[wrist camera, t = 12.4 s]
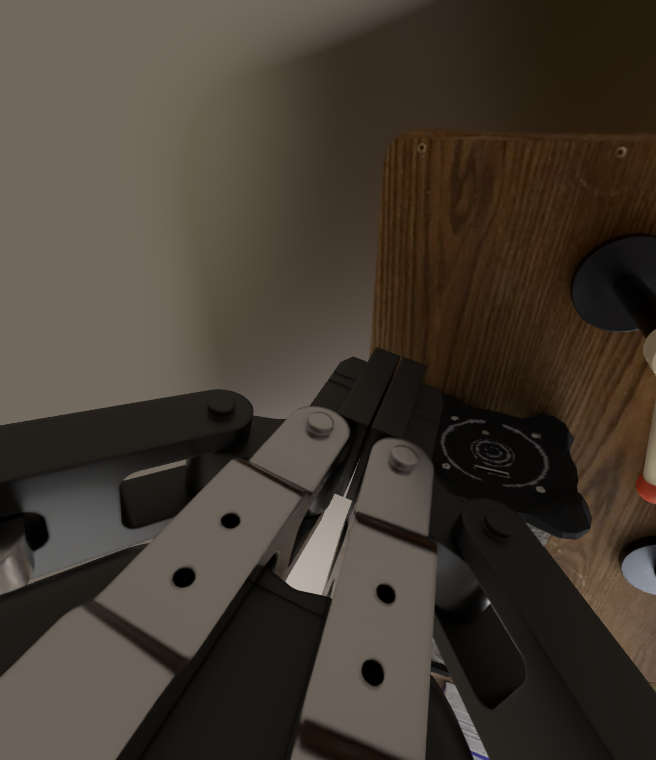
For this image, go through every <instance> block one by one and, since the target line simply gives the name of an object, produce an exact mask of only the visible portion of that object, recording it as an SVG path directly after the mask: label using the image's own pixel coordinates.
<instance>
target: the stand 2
mask: <svg viewBox="0 0 656 760" xmlns="http://www.w3.org/2000/svg"><path fill="white" fill-rule="evenodd" d="M619 564H620V567H621V571H622V574H623V576H624V577H625V579H626V580H627V581H628V582H629V583H630V584H631V585H633V586H634V587H636V588H638V589H640V590H642V591H644V592H647V593H650V594H654V595H656V536H652V537H645V538H641V539H638V540H635V541H633V542H631V543H629V544H628V545H627V546H625V547H624V548H623V550H622V551H621V553H620V555H619Z"/></svg>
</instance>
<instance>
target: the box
mask: <svg viewBox="0 0 656 760" xmlns="http://www.w3.org/2000/svg"><path fill="white" fill-rule="evenodd" d="M443 693H444V694H445V696H446V698H447V700H448V702H449V703H450V705H451V707H452V709H453V711H454V713H455V715H456V718H457V720H458V722H459V724H460V727H461V729H462V731H463V734H464V736H465V739H466V741H467V743H468V746H469V748H470V751H471V753H472V755H473V758H474V760H490V759H489V757H488V755H487V753H486V751H485V748H484V746H483V744H482V742H481V740H480V738H479V736H478V733H477V731H476V729H475V727H474V725H473V723H472V721H471V718H470V716H469V714H468V712H467V710H466V708H465V706H464V704H463V701H462V699H461V697H460V695H459V693H458V691H457V689H456V686H455V685H454V684H452V683H449V682H446V683H445V687H444V690H443Z"/></svg>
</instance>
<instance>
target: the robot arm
mask: <svg viewBox="0 0 656 760" xmlns="http://www.w3.org/2000/svg"><path fill="white" fill-rule="evenodd" d="M399 359H400V356H399V355H397V354H394V353H391V352H388V351H386V350H383V349H380V348H378V347H376V348H375V350H374V352H373V354H372V355H371V357H370V359H369V360H368V362H366V361H364V360H361V359H358V358H356V357H351V358H349V359H346V360H344V361H342V362H340V364H339V365H338V366H337V368H336V370H335V371H334V373H333V374H332V375H331V377H330V378H329V380H328V381H327V382H326V384H325V385H324V386H323V388H322V389H321V391H320V392H319V393H318V395H317V397H316V398H315V399H314V401H313V402H312V403H311V405H310V406H306V407H302V408H299V409H297V410H295V411H294V412H293V413H292V414H291V415H290V416H289V417H288V418H287V419H272V418H265V417H259V416H253V407H252V405H251V403H250V402H249V401H248V399H246V398H245V397H244V396H242V395H240V394H238V393H236V392H232V391H228V390H221V389H215V390H207V391H202V392H196V393H190V394H184V395H178V396H172V397H166V398H160V399H154V400H148V401H142V402H136V403H130V404H125V405H119V406H113V407H107V408H101V409H95V410H89V411H83V412H77V413H71V414H65V415H59V416H54V417H48V418H42V419H36V420H30V421H24V422H18V423H12V424H6V425H0V760H474V758H473V755H472V753H471V751H470V748H469V746H468V743H467V741H466V739H465V736H464V734H463V731H462V729H461V727H460V724H459V722H458V720H457V718H456V715H455V713H454V711H453V709H452V707H451V705H450V703H449V702H448V700H447V698H446V696H445V694H444V693H443V691H442V690H441V688H440V687H439V685H438V684H437V682H436V681H435V679H434V678H433V676H432V675H431V674H430V670H431V654H432V638H433V639H434V641H435V644H436V646H437V648H438V650H439V652H440V654H441V656H442V659H443V661H444V663H445V665H446V667H447V669H448V671H449V674H450V676H451V678H452V680H453V682H454V684H455V686H456V689H457V691H458V693H459V695H460V697H461V699H462V701H463V704H464V706H465V708H466V710H467V712H468V714H469V716H470V718H471V721H472V723H473V725H474V727H475V729H476V731H477V733H478V736H479V738H480V740H481V742H482V744H483V746H484V748H485V751H486V753H487V755H488V757H489V759H490V760H656V692H655V690H654V689H653V688H652V686H651V685H650V684H649V682H648V681H647V680H646V679H645V677H644V676H643V675H642V673H641V672H640V671H639V669H638V668H637V667H636V666H635V664H634V663H633V662H632V660H631V659H630V658H629V656H628V655H627V654H626V653H625V651H624V650H623V649H622V647H621V646H620V645H619V643H618V642H617V641H616V640H615V638H614V637H613V636H612V634H611V633H610V632H609V630H608V629H607V628H606V627H605V625H604V624H603V623H602V621H601V620H600V619H599V617H598V616H597V615H596V614H595V612H594V611H593V610H592V608H591V607H590V606H589V604H588V603H587V602H586V601H585V599H584V598H583V597H582V595H581V594H580V593H579V591H578V590H577V589H576V588H575V586H574V585H573V584H572V582H571V581H570V580H569V578H568V577H567V576H566V575H565V573H564V572H563V571H562V569H561V568H560V567H559V565H558V564H557V563H556V562H555V560H554V559H553V558H552V556H551V555H550V554H549V552H548V551H547V550H546V549H545V547H544V546H543V545H542V543H541V542H540V541H539V539H538V538H537V537H536V536H535V534H534V533H533V532H532V530H531V529H530V528H529V526H528V525H527V524H526V523H525V521H524V520H523V519H522V518H521V517H520V516H519V515H518V514H517V513H516V512H515V511H513V510H512V509H511V508H509V507H508V506H506V505H505V504H503V503H501V502H498V501H496V500H493V499H489V498H475V499H472V500H470V501H468V502H467V503H465V502H464V501H462V500H461V499H459V498H458V497H456V496H455V495H454V494H452V493H451V492H450V491H448V490H447V489H446V488H445V487H444V486H443V485H442V484H441V483H440V482H439V480H438V479H437V477H436V476H435V474H434V466H433V462H432V455H433V450H434V446H435V441H436V436H437V432H438V427H439V422H440V418H441V413H442V409H443V404H444V400H443V397H442V395H441V393H440V390H439V389H438V388H436V387H433V386H430V385H428V384H425V383H422V380H423V377H424V374H425V371H426V367H427V365H424V364H421V363H418V362H416V361H413V360H410V359H408V358H405V357H402V359H401V361H400V364H399V366H398V368H397V365H398V362H399ZM396 368H397V370H396ZM395 370H396V373H395ZM394 373H395V375H394ZM393 376H394V377H393ZM392 378H393V379H392ZM391 381H392V382H391ZM185 459H186V465H184V466H180V467H176V468H172V469H168V470H164V471H160V472H156V473H153V474H148V475H145V476H141V477H137V478H133V479H129V480H124V479H125V478H126V477H127V476H128V475H130V474H132V473H134V472H137V471H140V470H145V469H149V468H153V467H157V466H161V465H165V464H169V463H173V462H177V461H181V460H185ZM359 459H360V460H359ZM357 463H358V465H357ZM356 466H357V468H356ZM355 468H356V471H355ZM354 471H355V474H354V476H353V479H352V482H351V484H350V487H349V490H348V493H347V496H346V498H347V499H350V500H352V503H351V506H350V508H349V511H348V514H347V516H346V519H345V522H344V524H343V527H342V530H341V533H340V537H339V540H338V543H337V547H336V550H335V553H334V557H333V560H332V563H331V567H330V570H329V573H328V577H327V580H326V583H325V587H324V590H323V593H322V595H317V594H313V593H308V592H303V591H299V590H296V589H294V588H292V587H291V586H289V585H288V584H287V583H286V582H285V581H286V579H287V577H288V575H289V573H290V572H291V570H292V568H293V567H294V565H295V563H296V562H297V560H298V558H299V556H300V555H301V553H302V551H303V550H304V548H305V546H306V545H307V543H308V541H309V539H310V538H311V536H312V534H313V533H314V531H315V529H316V528H317V526H318V524H319V522H320V521H321V519H322V517H323V514H324V511H325V510H326V509H327V507H328V506H329V504H330V502H331V500H332V498H333V496H334V494H338V495H340V496H342V497H343V496H344V494H345V491H346V489H347V487H348V484H349V482H350V480H351V477H352V475H353V473H354ZM123 480H124V481H123ZM153 538H154V539H153ZM150 539H153V540H152V541H151V542H150V543H148V544H142V545H138V546H134V547H130V548H127V549H124V550H121V551H118V552H115V553H112V554H110V555H107V556H104V557H102V558H99V559H96V560H93V561H91V562H88V563H85V564H83V565H80V566H77V567H74V568H72V569H69V570H66V571H64V572H61V573H58V574H55V575H53V576H50V577H47V578H44V579H42V580H39V581H36V582H34V583H31V584H28V585H27V583H28V582H29V580H30V579H33V578H36V577H39V576H42V575H45V574H48V573H51V572H54V571H57V570H60V569H63V568H66V567H69V566H72V565H75V564H78V563H81V562H84V561H87V560H90V559H93V558H96V557H99V556H101V555H105V554H108V553H111V552H113V551H117V550H119V549H122V548H126V547H129V546H132V545H135V544H138V543H141V542H144V541H147V540H150ZM490 603H491V604H490ZM492 606H493V607H492ZM493 608H494V609H493ZM494 610H495V611H496V612H495V611H494ZM496 613H497V614H496ZM497 615H498V616H497ZM499 618H500V619H499ZM500 620H501V621H500ZM502 623H503V624H502ZM503 625H504V626H503ZM505 628H506V629H505ZM506 630H507V631H506ZM508 633H509V634H508ZM509 635H510V636H509ZM511 638H512V639H511ZM512 640H513V641H512ZM514 643H515V644H514ZM515 645H516V646H515ZM517 648H518V649H517ZM518 650H519V651H518Z"/></svg>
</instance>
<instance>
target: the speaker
mask: <svg viewBox="0 0 656 760" xmlns="http://www.w3.org/2000/svg"><path fill="white" fill-rule="evenodd" d="M441 395H442V397H443V400H444V404H443V409H442V413H441V418H440V422H439V427H438V432H437V436H436V441H435V446H434V450H433V455H432V462H433V466H434V474H435V476H436V477H437V479H438V480H439V482H440V483H441V484H442V485H443V486H444V487H445V488H446V489H447V490H448V491H450V492H451V493H452V494H454V495H455V496H456V497H458V498H459V499H461V500H462V501H464V502H465V503H467V502H468V501H470V500H472V499H475V498H489V499H493V500H496V501H498V502H501V503H503V504H505V505H506V506H508V507H509V508H511V509H512V510H513V511H515V512H516V513H517V514H518V515H519V516H520V517H521V518H522V519H523V520H524V521H525V523H526V524H527V525H528V526H529V528H530V529H531V530H532V532H533V533H534V534H535V536H536V537H537V538H538V539H539V541H540V542H541V543H542V545H543V546H544V547H545V544H546V543H547V539H548V537H549V536H550V535H552V536H555V537H558V538H565V539H578V538H580V537H581V536H583V535H585V534H586V533H588V531H589V530H590V528H591V521H592V517H591V514H590V510H589V507H588V504H587V503H586V501H585V499H584V498H583V496H582V495H581V494H580V493H578V490H577V484H578V475H577V468H576V466H575V464H574V462H573V460H572V458H571V456H570V452H569V451H570V448H571V446H572V443H573V440H574V437H573V436H572V434H571V432H570V431H569V429H568V428H567V426H566V424H565V423H563V422H562V421H560V420H559V419H557V418H556V417H553V416H550V415H546V414H541V415H536V416H531V417H527V418H517V417H513V416H510V415H507V414H504V413H499V412H495V411H490V410H484V409H473V408H469V407H466V406H465V405H464V404H463V403H461V402H460V401H459V400H457V399H456V398H455V397H453V396H452V395H445V394H441ZM490 604H491V603H490ZM492 607H493V606H492ZM493 609H494V608H493ZM494 611H495V610H494ZM495 612H496V611H495ZM496 614H497V613H496ZM497 616H498V615H497ZM499 619H500V618H499ZM500 621H501V620H500ZM502 624H503V623H502ZM503 626H504V625H503ZM505 629H506V628H505ZM506 631H507V630H506ZM430 671H431V672H434V673H437V674H440V675H443V676H446V677H451V676H450V674H449V671H448V669H447V667H446V665H445V663H444V661H443V659H442V656H441V654H440V652H439V650H438V648H437V646H436V644H435V641H434V639H433V638H432V654H431V670H430Z"/></svg>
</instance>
